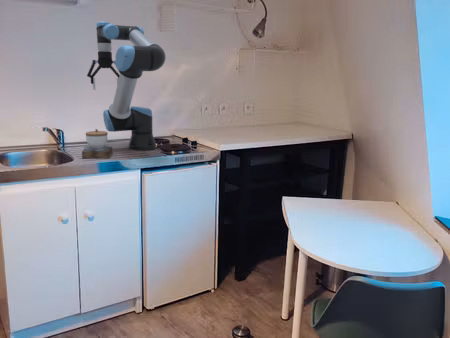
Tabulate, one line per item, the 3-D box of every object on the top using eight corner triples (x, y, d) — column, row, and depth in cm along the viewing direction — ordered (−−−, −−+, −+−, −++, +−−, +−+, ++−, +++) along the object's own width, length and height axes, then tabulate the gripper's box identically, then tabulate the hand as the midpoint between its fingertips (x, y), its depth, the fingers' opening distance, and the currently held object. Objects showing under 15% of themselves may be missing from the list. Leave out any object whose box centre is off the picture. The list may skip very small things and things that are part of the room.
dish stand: (112, 153, 221) (112, 145, 219) (109, 158, 208) (108, 149, 207) (87, 153, 219) (86, 145, 218) (82, 158, 206) (81, 150, 205)
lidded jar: (104, 149, 207) (103, 131, 205) (83, 149, 207) (82, 130, 205) (110, 145, 218) (110, 128, 215) (90, 145, 218) (89, 127, 215)
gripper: (125, 52, 241) (126, 89, 246) (80, 50, 229) (82, 89, 234) (128, 51, 234) (129, 90, 239) (82, 50, 223) (85, 90, 228)
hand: (106, 89), depth 237 cm, fingers open, 13 cm apart
